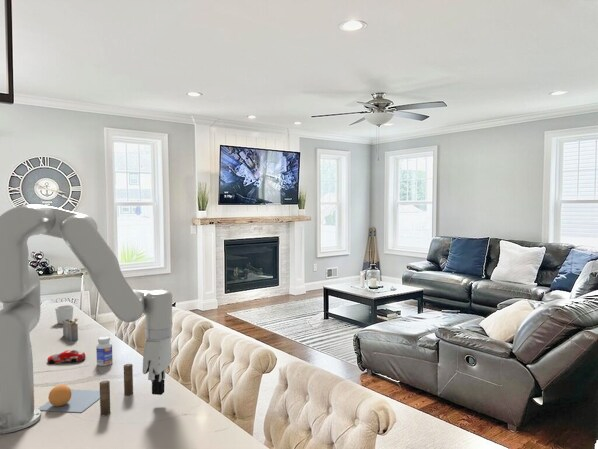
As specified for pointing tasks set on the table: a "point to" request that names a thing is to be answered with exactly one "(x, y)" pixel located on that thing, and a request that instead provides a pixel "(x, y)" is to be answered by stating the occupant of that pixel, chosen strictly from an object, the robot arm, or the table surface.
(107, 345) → the pill bottle
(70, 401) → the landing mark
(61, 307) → the cup
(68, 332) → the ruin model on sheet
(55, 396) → the ball
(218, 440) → the table surface
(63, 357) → the race car
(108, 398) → the gate post left
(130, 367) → the gate post right
